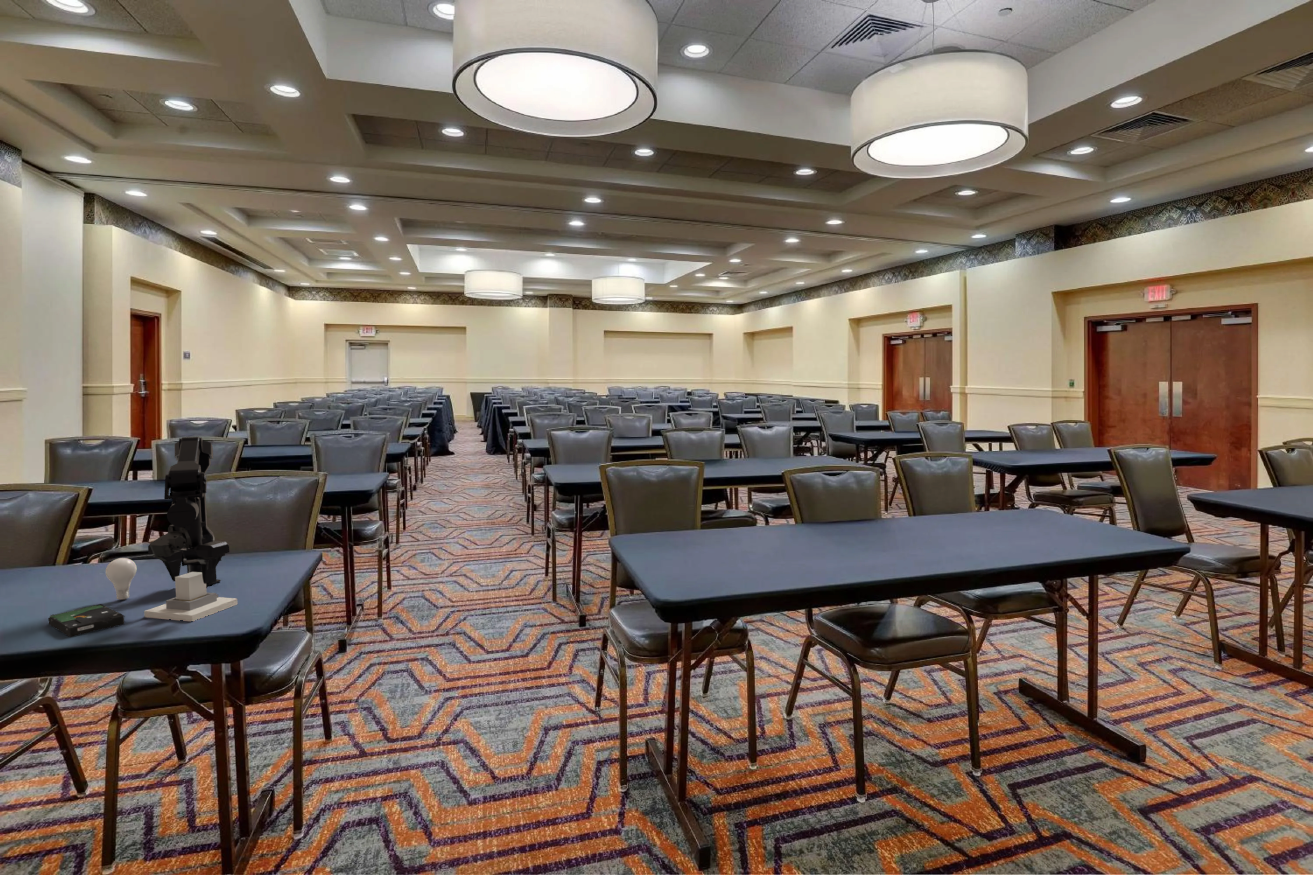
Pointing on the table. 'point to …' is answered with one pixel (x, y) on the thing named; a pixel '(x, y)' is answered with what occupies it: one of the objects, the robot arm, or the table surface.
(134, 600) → the table surface
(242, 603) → the table surface
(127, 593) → the lightbulb
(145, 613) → the socket plate
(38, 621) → the table surface
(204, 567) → the robot arm
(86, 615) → the disk drive
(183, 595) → the plug
